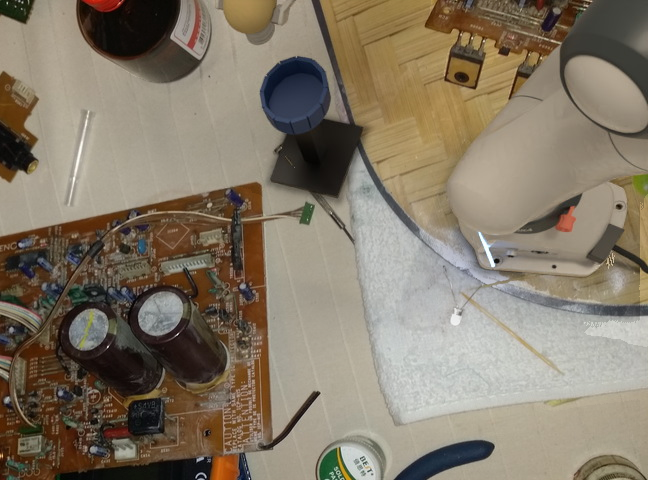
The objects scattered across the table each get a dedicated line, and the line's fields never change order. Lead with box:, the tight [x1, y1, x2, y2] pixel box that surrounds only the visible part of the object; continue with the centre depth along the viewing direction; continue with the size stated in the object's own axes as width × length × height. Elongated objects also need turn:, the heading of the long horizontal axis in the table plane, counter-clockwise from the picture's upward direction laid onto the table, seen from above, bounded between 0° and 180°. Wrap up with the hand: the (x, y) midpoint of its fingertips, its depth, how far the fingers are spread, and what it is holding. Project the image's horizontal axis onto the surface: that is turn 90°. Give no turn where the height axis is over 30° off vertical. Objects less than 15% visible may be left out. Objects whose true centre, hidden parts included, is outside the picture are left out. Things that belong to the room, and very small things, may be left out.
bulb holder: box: [259, 55, 332, 135], centre depth 97 cm, size 9×9×4 cm
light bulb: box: [222, 0, 278, 46], centre depth 86 cm, size 6×6×10 cm
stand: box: [269, 118, 364, 199], centre depth 109 cm, size 12×12×22 cm
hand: (250, 16), depth 86 cm, fingers closed on light bulb, 6 cm apart
